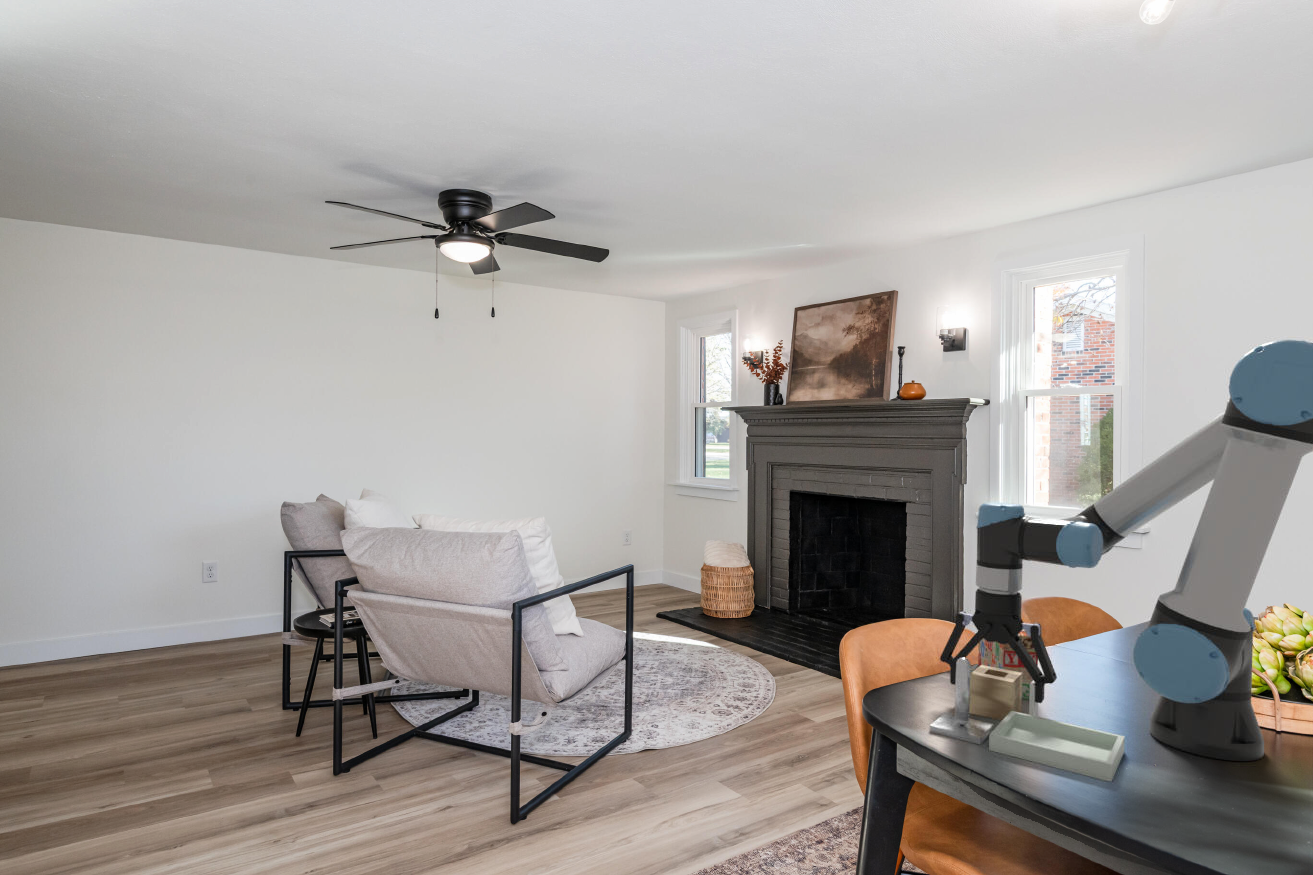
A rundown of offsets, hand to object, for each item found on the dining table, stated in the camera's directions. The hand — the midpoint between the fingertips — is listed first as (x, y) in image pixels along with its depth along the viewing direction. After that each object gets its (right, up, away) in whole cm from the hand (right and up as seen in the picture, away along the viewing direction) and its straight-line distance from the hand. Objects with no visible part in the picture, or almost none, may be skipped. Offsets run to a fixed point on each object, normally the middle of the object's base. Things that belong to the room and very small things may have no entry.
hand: (995, 711), depth 136 cm
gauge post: (-10, 0, -9) cm, 13 cm away
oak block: (0, 0, 0) cm, 0 cm away
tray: (+2, 0, -17) cm, 17 cm away
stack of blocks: (+10, -1, +18) cm, 21 cm away
